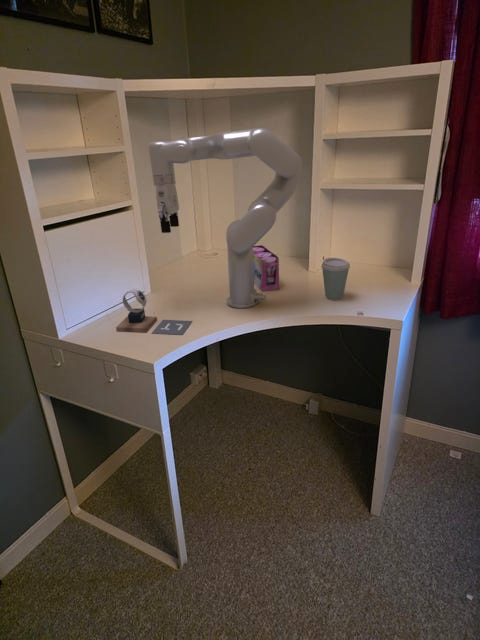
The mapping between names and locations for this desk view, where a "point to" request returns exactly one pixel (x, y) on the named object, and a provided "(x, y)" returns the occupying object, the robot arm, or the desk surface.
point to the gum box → (265, 268)
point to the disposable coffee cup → (335, 277)
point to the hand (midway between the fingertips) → (170, 229)
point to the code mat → (172, 327)
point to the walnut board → (137, 325)
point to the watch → (135, 314)
